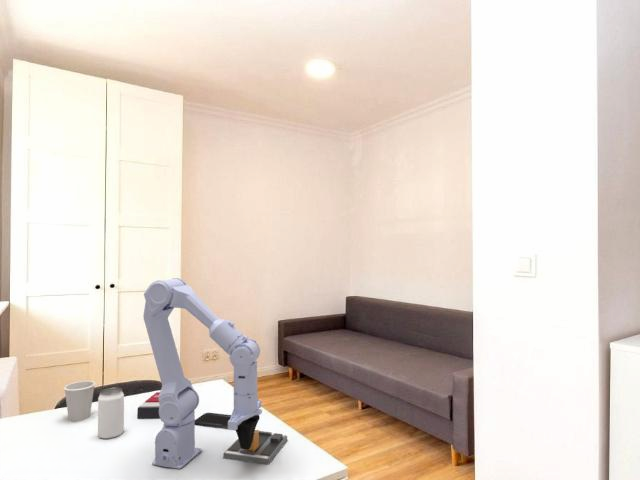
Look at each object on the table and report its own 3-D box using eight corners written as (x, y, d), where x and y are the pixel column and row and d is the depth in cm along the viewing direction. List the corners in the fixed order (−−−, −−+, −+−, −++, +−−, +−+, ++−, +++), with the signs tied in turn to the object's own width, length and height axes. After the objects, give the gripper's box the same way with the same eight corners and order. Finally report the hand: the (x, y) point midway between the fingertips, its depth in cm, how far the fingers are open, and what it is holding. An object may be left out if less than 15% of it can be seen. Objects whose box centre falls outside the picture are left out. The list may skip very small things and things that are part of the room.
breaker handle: (253, 451, 101) (253, 434, 101) (244, 450, 102) (244, 433, 102) (258, 446, 104) (258, 429, 104) (249, 444, 105) (249, 428, 105)
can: (113, 440, 111) (113, 395, 111) (92, 438, 112) (92, 394, 113) (128, 430, 117) (129, 387, 118) (108, 428, 119) (109, 386, 119)
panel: (268, 464, 98) (268, 454, 98) (223, 458, 101) (223, 448, 101) (287, 440, 111) (287, 431, 111) (246, 435, 114) (246, 426, 114)
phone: (206, 412, 128) (250, 417, 124) (206, 415, 128) (250, 420, 124) (191, 422, 121) (237, 427, 117) (191, 426, 121) (237, 432, 117)
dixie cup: (84, 423, 122) (85, 389, 122) (57, 423, 122) (57, 389, 122) (100, 412, 130) (100, 380, 131) (74, 412, 131) (74, 380, 131)
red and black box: (187, 390, 141) (173, 404, 126) (187, 403, 140) (173, 419, 125) (155, 391, 140) (137, 405, 125) (155, 404, 140) (136, 419, 125)
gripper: (247, 403, 92) (248, 465, 92) (272, 383, 106) (272, 436, 106) (219, 400, 94) (219, 461, 94) (247, 381, 108) (247, 433, 108)
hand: (245, 447), depth 100 cm, fingers closed
